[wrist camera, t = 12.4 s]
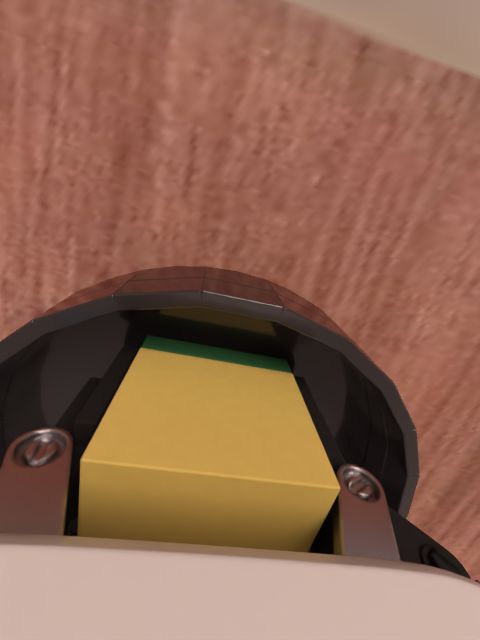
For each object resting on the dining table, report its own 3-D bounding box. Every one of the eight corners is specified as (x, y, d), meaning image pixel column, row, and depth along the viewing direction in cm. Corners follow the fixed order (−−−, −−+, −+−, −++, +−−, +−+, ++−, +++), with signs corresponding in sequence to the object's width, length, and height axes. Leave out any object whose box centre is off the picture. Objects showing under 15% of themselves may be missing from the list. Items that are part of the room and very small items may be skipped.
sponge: (146, 334, 11) (79, 459, 6) (286, 358, 11) (342, 488, 6) (136, 418, 12) (74, 579, 7) (261, 434, 13) (289, 590, 8)
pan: (-17, 215, 10) (-133, 222, 7) (437, 314, 12) (514, 354, 9) (11, 544, 16) (-40, 628, 13) (308, 564, 19) (327, 639, 16)
